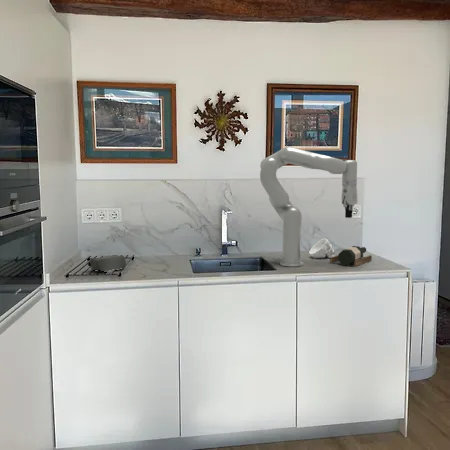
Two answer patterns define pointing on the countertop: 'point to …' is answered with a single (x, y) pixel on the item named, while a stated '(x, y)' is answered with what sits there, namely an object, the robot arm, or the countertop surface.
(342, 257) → the wine bottle
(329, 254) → the skull bowl
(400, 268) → the countertop surface
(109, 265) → the grey rounded piece
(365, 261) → the cradle
